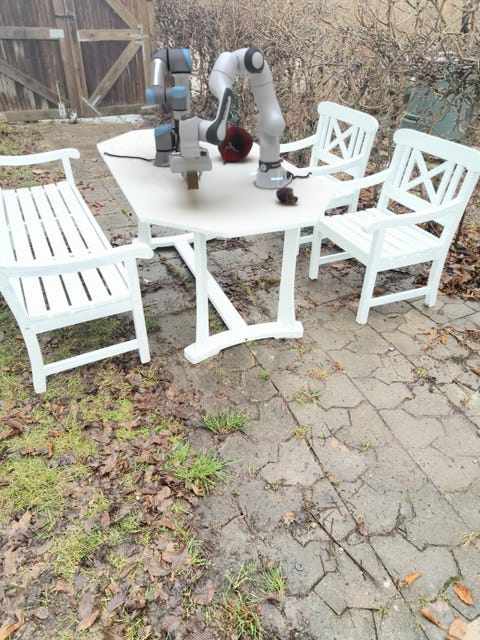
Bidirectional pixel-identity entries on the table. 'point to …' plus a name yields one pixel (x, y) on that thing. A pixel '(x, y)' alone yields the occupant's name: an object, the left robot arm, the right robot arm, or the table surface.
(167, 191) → the table surface
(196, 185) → the beam
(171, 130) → the left robot arm
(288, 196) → the rock
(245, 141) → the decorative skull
